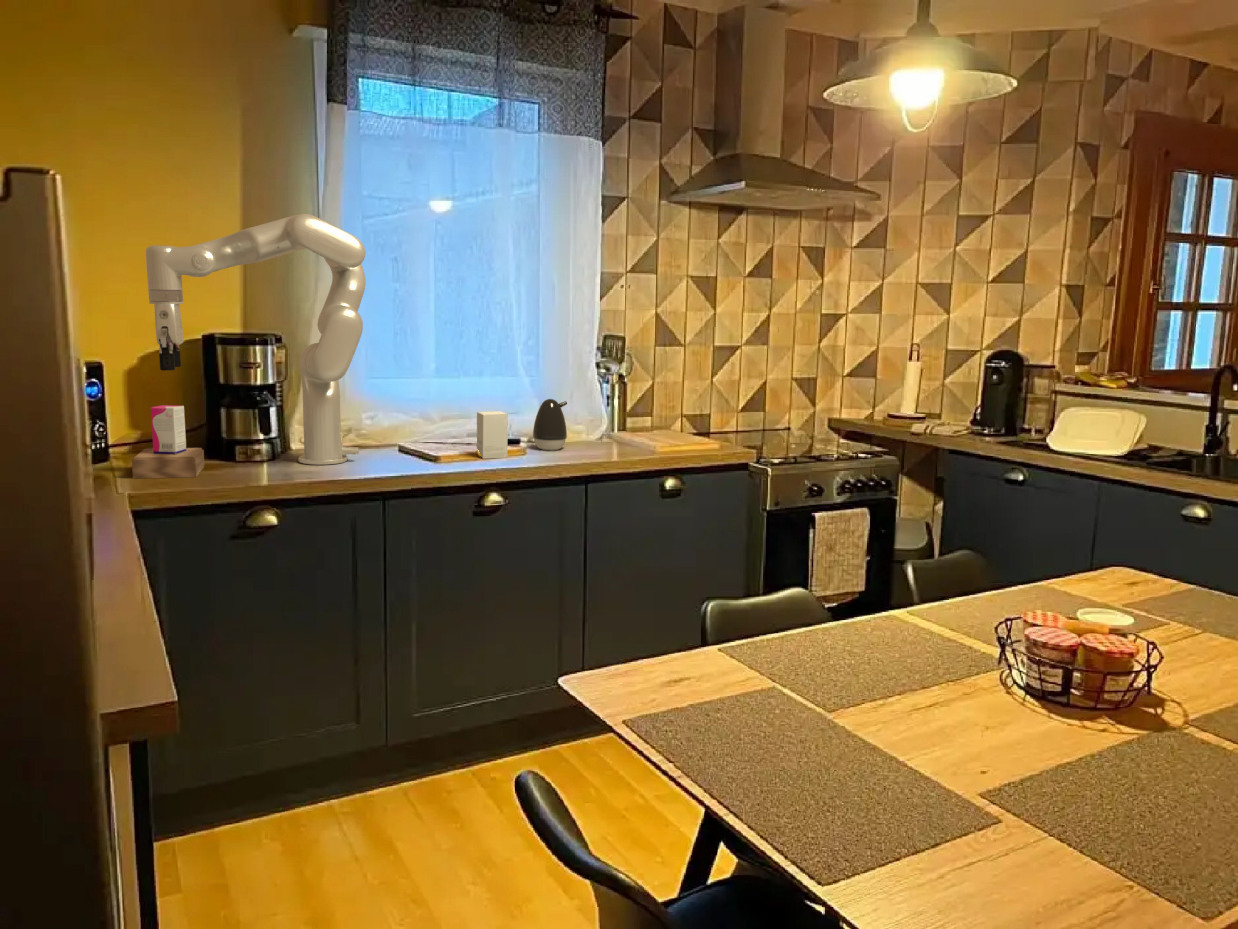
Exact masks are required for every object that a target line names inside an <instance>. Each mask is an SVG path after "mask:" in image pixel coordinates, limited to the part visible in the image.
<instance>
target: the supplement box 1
mask: <svg viewBox="0 0 1238 929" xmlns="http://www.w3.org/2000/svg"><path fill="white" fill-rule="evenodd" d="M150 415H151V429H152V430H151V431H152V432H151V433H152V449H153V453H154V454H178V453H181V452H184V451H186V448H187V438H186V420H185V406H184V405H170V404H169V405H166V404H165V405H157V406H152V407H151V406H150Z"/></svg>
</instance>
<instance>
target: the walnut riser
mask: <svg viewBox="0 0 1238 929" xmlns="http://www.w3.org/2000/svg"><path fill="white" fill-rule="evenodd" d="M204 453H205V451H204V449H203V448H202V447H186V451H184V452H181V453H178V454H154V453H153V448H144V449H143V450H141V451H140V452H139V453H138V454H137V455H135V456H133V459H131V466H132V467H131V468H132V469H131V471H132V479H162V478H164V479H167V478H168V479H169V478H172V479H173V478H197V477H198V475H199V474H200V473H201V472H202V470H204V468H205V454H204ZM199 472H200V473H199Z"/></svg>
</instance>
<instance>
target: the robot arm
mask: <svg viewBox="0 0 1238 929" xmlns="http://www.w3.org/2000/svg"><path fill="white" fill-rule="evenodd" d="M304 249H305V250H308V251H310V252H312V253H315V254H316V255H318V256H320V257H322V258H323V259H324V260H325V262H326V264H327V265H328V266H329V268H330V270H331V274H332V275H331V276H332V277H331V278H332V280H331V281H332V282H331V285H330V288H329V291H328V293H327V296H326V298H325V302H324V303H323V306H322V308H321V310H320V313H319V316H318V319H317V322H316V323H317V324H316V325H317V330H318V332H319V333H320V335H321V336H320V338H319V340H318V342H314V343H311V344H309V345H308V346H306V347H305V348H304V349H303V350H302V352H301V355H300V357H299V372H300V379H301V389H302V392H301V393H302V412H303V413H302V416H303V418H302V420H303V422H302V423H303V426H302V427H303V448H304V449H303V453H304V454H303V455H300V456H298V458H297V459H298V463H301V464H305V465H322V466H323V465H336V464H341V463H346V462H347V461H348V456H347V455H359V447H358V446H357V447H355V446H345V445H343V442H342V434H341V432H342V430H341V429H342V427H341V391H340V382H339V380H340V379H342V378H343V377H344V376H345V375H346V373H347V372H348V370H349V368H350V366H351V364H352V361H353V359H354V356H355V354H356V351H357V348H358V345H359V343H360V339H361V338H362V334H363V330H364V322H363V319H362V316H361V315H360V313H359V309H360V305H361V304H362V300H363V297H364V293H365V290H366V274H365V270H364V267H363V264H362V263H364V260H365V258H366V249H365V246H364V243H363V242H362V241H361V240H360V239H359V238H358V237H357V236H355V235H353V234H351V233H349V232H348V231H345V230H344V229H341V228H340V227H337V226H335V225H333V224H331V223H330V222H328V221H325V220H324V219H321V218H319V217H317V216H315V215H312V214H310V213H299V214H296V215H295V214H294V215H291V216H288V217H284V218H280V219H277V220H273V221H269V222H266V223H262V224H258V225H255V226H252V227H248V228H244V229H242V230H238V231H237V232H234V233H232V234H229V235H225V236H222V237H220V238H216V239H212V240H209V241H205V242H201V243H198V244H195V245H191V246H190V245H189V246H175V245H173V246H172V245H149V246H147V247H146V249H145V262H146V263H145V265H146V274H147V276H146V277H147V289H148V291H147V292H148V302H149V304H150V305H154V323H155V325H154V326H155V327H154V328H155V335H156V337H155V338H156V343H157V345H158V346H159V354H158V355H159V356H158V357H159V368H160V369H159V370H160V371H164V372H165V371H175V370H176V368H181V366H182V362H181V361H182V360H181V350H180V345H182V344H183V343H184V341H185V340H184V331H183V321H182V320H183V319H182V312H181V307H180V305H183V304H184V295H183V294H184V293H183V292H184V291H183V280H182V276H189V277H192V278H203V277H207V276H209V275H211V274H212V273H214V272H218V271H221V270H224V269H228V268H232V267H237V266H242V265H248V264H249V265H251V264H256V263H260V262H264V261H267V260H270V259H273V258H277V257H280V256H284V255H288V254H290V253H294V252H298V251H300V250H304Z"/></svg>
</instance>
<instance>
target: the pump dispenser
mask: <svg viewBox="0 0 1238 929" xmlns="http://www.w3.org/2000/svg"><path fill="white" fill-rule="evenodd" d="M567 404H568V402H567V401H566V400H565V401H563V402H559V403H558V401H557V400H555V399H552V398H547V399H545V400H544V401H543V402H542V403H541V405H540V406H539V408H538V411H537V413H536V416H535V420H534V424H533V429H532V438H533V440H534V441H533V442H534V444H535V445H536V447H537V448H538V449H541V450H542V451H552V452H553V451H558V450H560V449H562V447H563V446H564V445H565V443H566V439H567V438H568V432H567V431H568V430H567V424H566V419H565V416H564V412H563V410H562V408H563V407H565V406H567Z"/></svg>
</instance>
